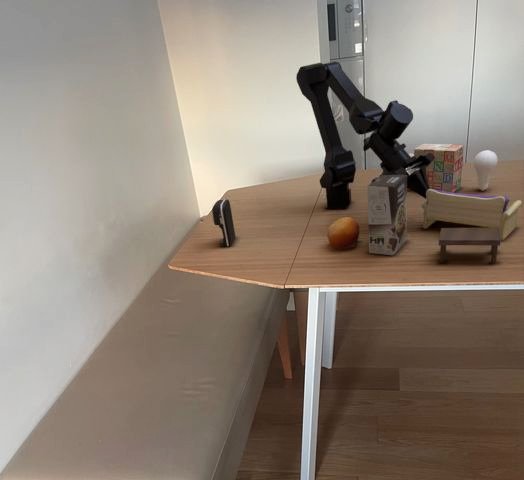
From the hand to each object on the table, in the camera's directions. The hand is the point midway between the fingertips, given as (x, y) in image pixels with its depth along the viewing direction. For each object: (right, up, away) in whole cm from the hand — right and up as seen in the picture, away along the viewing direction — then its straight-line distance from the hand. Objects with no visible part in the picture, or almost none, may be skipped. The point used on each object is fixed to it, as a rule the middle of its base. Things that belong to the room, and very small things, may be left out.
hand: (429, 198), depth 127 cm
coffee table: (+4, -17, -14) cm, 22 cm away
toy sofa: (+9, -8, -1) cm, 12 cm away
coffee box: (-11, -13, -3) cm, 17 cm away
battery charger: (-51, -8, +15) cm, 54 cm away
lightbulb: (+22, +8, +21) cm, 32 cm away
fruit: (-21, -12, +2) cm, 24 cm away
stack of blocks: (+8, +12, +30) cm, 33 cm away
